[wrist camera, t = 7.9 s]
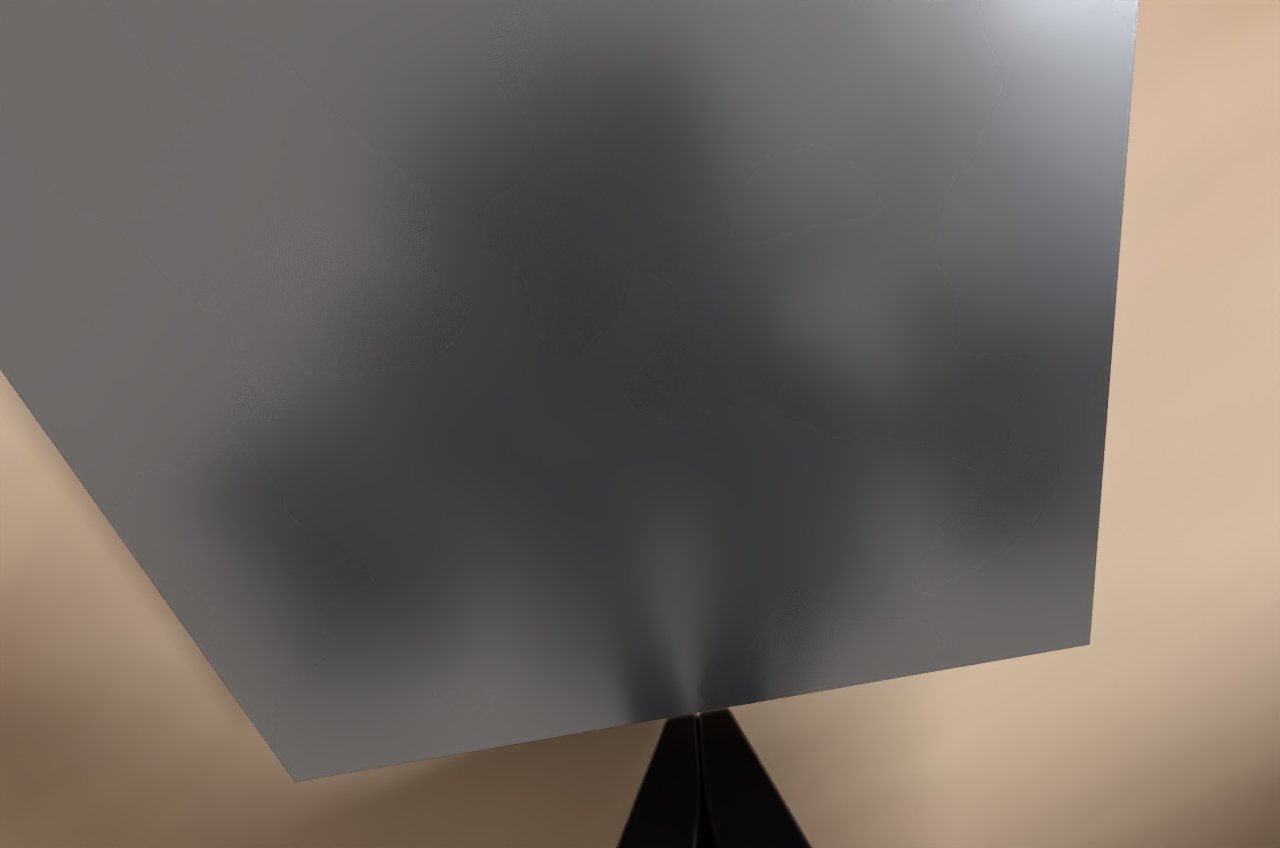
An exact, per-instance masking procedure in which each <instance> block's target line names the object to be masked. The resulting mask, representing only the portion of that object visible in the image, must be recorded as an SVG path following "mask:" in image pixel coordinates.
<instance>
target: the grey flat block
mask: <svg viewBox="0 0 1280 848" xmlns="http://www.w3.org/2000/svg"><path fill="white" fill-rule="evenodd" d="M1138 3H1139V0H0V369H1V371H2V372H3V374H4V375H5V376H6V378H7V379H8V381H9V382H10V383H11V385H12V386H13V388H14V389H15V390H16V392H17V393H18V395H19V396H20V397H21V399H22V400H23V402H24V403H25V404H26V406H27V407H28V409H29V410H30V411H31V413H32V414H33V416H34V417H35V418H36V420H37V421H38V423H39V424H40V425H41V427H42V428H43V430H44V431H45V432H46V434H47V435H48V437H49V438H50V439H51V441H52V442H53V444H54V445H55V446H56V448H57V449H58V451H59V452H60V453H61V455H62V456H63V458H64V459H65V460H66V462H67V463H68V465H69V466H70V467H71V469H72V470H73V472H74V473H75V474H76V476H77V477H78V479H79V480H80V481H81V483H82V484H83V486H84V487H85V489H86V490H87V491H88V493H89V494H90V496H91V497H92V498H93V500H94V501H95V503H96V504H97V505H98V507H99V508H100V510H101V511H102V512H103V514H104V515H105V517H106V518H107V519H108V521H109V522H110V524H111V525H112V526H113V528H114V529H115V531H116V532H117V533H118V535H119V536H120V538H121V539H122V540H123V542H124V543H125V545H126V546H127V547H128V549H129V550H130V552H131V553H132V554H133V556H134V557H135V559H136V560H137V561H138V563H139V564H140V566H141V567H142V568H143V570H144V571H145V573H146V574H147V575H148V577H149V578H150V580H151V581H152V582H153V584H154V585H155V587H156V588H157V589H158V591H159V592H160V594H161V595H162V596H163V598H164V599H165V601H166V602H167V604H168V605H169V606H170V608H171V609H172V611H173V612H174V613H175V615H176V616H177V618H178V619H179V620H180V622H181V623H182V625H183V626H184V627H185V629H186V630H187V632H188V633H189V634H190V636H191V637H192V639H193V640H194V641H195V643H196V644H197V646H198V647H199V648H200V650H201V651H202V653H203V654H204V655H205V657H206V658H207V660H208V661H209V662H210V664H211V665H212V667H213V668H214V669H215V671H216V672H217V674H218V675H219V676H220V678H221V679H222V681H223V682H224V683H225V685H226V686H227V688H228V689H229V690H230V692H231V693H232V695H233V696H234V697H235V699H236V700H237V702H238V703H239V704H240V706H241V707H242V709H243V710H244V712H245V713H246V714H247V716H248V717H249V719H250V720H251V721H252V723H253V724H254V726H255V727H256V728H257V730H258V731H259V733H260V734H261V735H262V737H263V738H264V740H265V741H266V742H267V744H268V745H269V747H270V748H271V749H272V751H273V752H274V754H275V755H276V756H277V758H278V759H279V761H280V762H281V763H282V765H283V766H284V768H285V769H286V770H287V772H288V773H289V775H290V776H291V777H292V779H293V780H294V782H299V781H304V780H310V779H316V778H322V777H328V776H333V775H339V774H345V773H351V772H356V771H362V770H368V769H374V768H380V767H385V766H391V765H397V764H403V763H408V762H414V761H420V760H426V759H432V758H437V757H443V756H449V755H455V754H460V753H466V752H472V751H478V750H483V749H489V748H495V747H501V746H507V745H512V744H518V743H524V742H530V741H535V740H541V739H547V738H553V737H559V736H564V735H570V734H576V733H582V732H587V731H593V730H599V729H605V728H610V727H616V726H622V725H628V724H634V723H639V722H645V721H651V720H657V719H662V718H668V717H674V716H680V715H686V714H691V713H697V712H703V711H709V710H714V709H720V708H726V707H732V706H738V705H743V704H749V703H755V702H761V701H766V700H772V699H778V698H784V697H789V696H795V695H801V694H807V693H813V692H818V691H824V690H830V689H836V688H841V687H847V686H853V685H859V684H865V683H870V682H876V681H882V680H888V679H893V678H899V677H905V676H911V675H917V674H922V673H928V672H934V671H940V670H945V669H951V668H957V667H963V666H968V665H974V664H980V663H986V662H992V661H997V660H1003V659H1009V658H1015V657H1020V656H1026V655H1032V654H1038V653H1044V652H1049V651H1055V650H1061V649H1067V648H1072V647H1078V646H1084V645H1090V633H1091V620H1092V607H1093V594H1094V580H1095V567H1096V554H1097V541H1098V528H1099V515H1100V502H1101V489H1102V475H1103V462H1104V449H1105V436H1106V423H1107V410H1108V397H1109V384H1110V370H1111V357H1112V344H1113V331H1114V318H1115V305H1116V292H1117V279H1118V265H1119V252H1120V239H1121V226H1122V213H1123V200H1124V187H1125V174H1126V160H1127V147H1128V134H1129V121H1130V108H1131V95H1132V82H1133V69H1134V55H1135V42H1136V29H1137V16H1138Z"/></svg>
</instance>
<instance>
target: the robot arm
mask: <svg viewBox="0 0 1280 848" xmlns="http://www.w3.org/2000/svg"><path fill="white" fill-rule="evenodd" d="M616 848H812V846H811V844H810V842H809V841H808V839H807V837H806V836H805V834H804V832H803V831H802V829H801V827H800V826H799V824H798V822H797V821H796V819H795V817H794V816H793V814H792V812H791V811H790V809H789V807H788V806H787V804H786V802H785V801H784V799H783V797H782V796H781V794H780V792H779V791H778V789H777V787H776V786H775V784H774V782H773V781H772V779H771V777H770V776H769V774H768V772H767V770H766V769H765V767H764V765H763V764H762V762H761V760H760V759H759V757H758V755H757V754H756V752H755V750H754V749H753V747H752V745H751V744H750V742H749V740H748V739H747V737H746V735H745V734H744V732H743V730H742V729H741V727H740V725H739V724H738V722H737V720H736V719H735V717H734V715H733V714H732V712H731V711H730V709H728V708H727V707H726V708H720V709H714V710H709V711H703V712H700V713H699V716H698V715H697V714H696V713H691V714H686V715H680V716H674V717H668V718H667V719H666V721H665V723H664V725H663V728H662V730H661V733H660V735H659V738H658V741H657V743H656V746H655V748H654V751H653V754H652V756H651V759H650V761H649V764H648V767H647V769H646V772H645V774H644V777H643V779H642V782H641V785H640V787H639V790H638V792H637V795H636V798H635V800H634V803H633V805H632V808H631V811H630V813H629V816H628V818H627V821H626V823H625V826H624V829H623V831H622V834H621V836H620V839H619V842H618V844H617V847H616Z"/></svg>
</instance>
